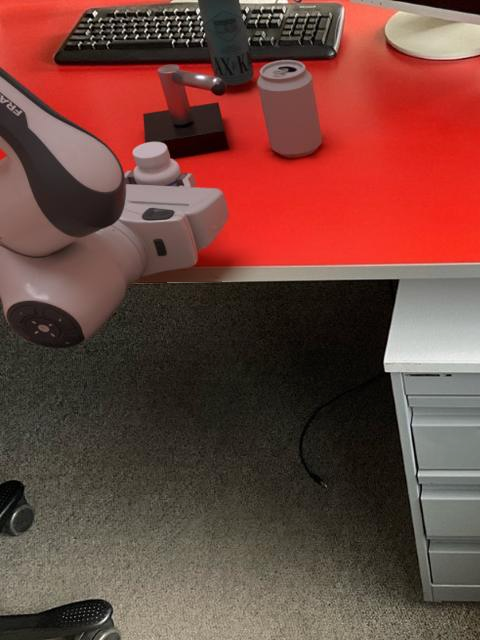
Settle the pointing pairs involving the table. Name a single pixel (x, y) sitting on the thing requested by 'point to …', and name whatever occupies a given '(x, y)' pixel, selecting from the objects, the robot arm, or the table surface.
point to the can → (289, 108)
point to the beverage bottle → (227, 40)
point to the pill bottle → (155, 165)
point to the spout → (176, 93)
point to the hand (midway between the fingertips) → (163, 177)
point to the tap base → (188, 131)
